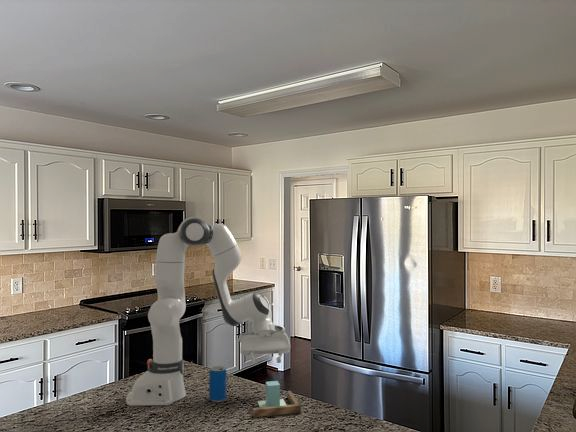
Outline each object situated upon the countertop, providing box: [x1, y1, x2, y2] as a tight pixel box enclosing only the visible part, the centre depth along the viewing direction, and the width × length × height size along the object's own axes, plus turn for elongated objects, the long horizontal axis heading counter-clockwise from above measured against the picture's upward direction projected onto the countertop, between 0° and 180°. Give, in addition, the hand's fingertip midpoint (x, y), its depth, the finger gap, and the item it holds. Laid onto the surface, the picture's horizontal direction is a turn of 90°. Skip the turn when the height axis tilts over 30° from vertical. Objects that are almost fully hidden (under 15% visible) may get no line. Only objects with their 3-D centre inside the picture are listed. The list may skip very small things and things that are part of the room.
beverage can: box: [208, 365, 227, 403], centre depth 173 cm, size 6×6×12 cm
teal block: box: [265, 380, 281, 407], centre depth 167 cm, size 4×4×8 cm
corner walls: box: [252, 390, 302, 418], centre depth 166 cm, size 17×15×2 cm
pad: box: [257, 398, 287, 408], centre depth 167 cm, size 10×10×1 cm
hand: (267, 362), depth 177 cm, fingers open, 8 cm apart
